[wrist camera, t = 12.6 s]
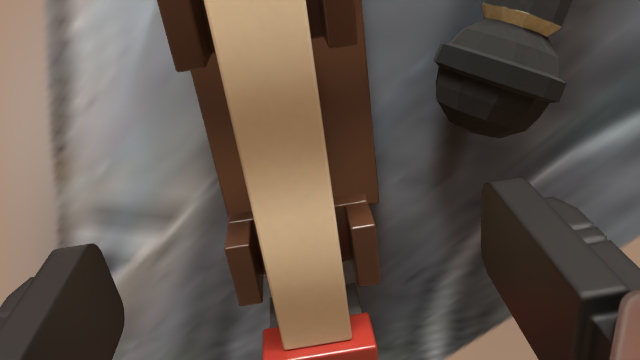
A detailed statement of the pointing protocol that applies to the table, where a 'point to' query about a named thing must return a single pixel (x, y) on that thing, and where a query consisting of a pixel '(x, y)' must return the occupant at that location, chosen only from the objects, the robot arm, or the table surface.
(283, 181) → the brush
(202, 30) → the rack
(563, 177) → the table surface
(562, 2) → the microphone
